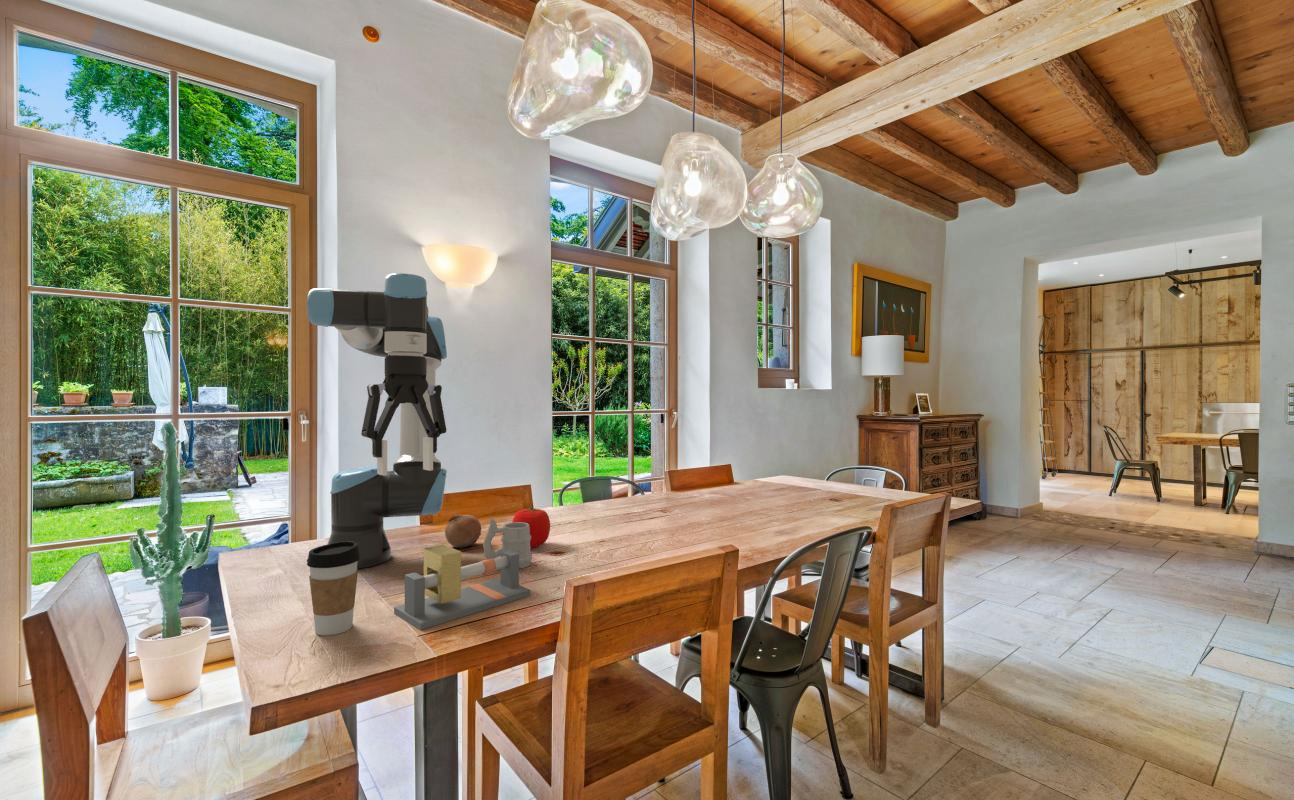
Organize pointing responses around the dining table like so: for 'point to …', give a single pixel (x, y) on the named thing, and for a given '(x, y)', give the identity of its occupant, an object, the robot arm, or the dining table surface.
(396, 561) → the dining table surface
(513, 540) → the mug
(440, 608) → the rail
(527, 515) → the red round fruit
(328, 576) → the coffee cup
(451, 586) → the collar
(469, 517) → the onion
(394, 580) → the dining table surface
